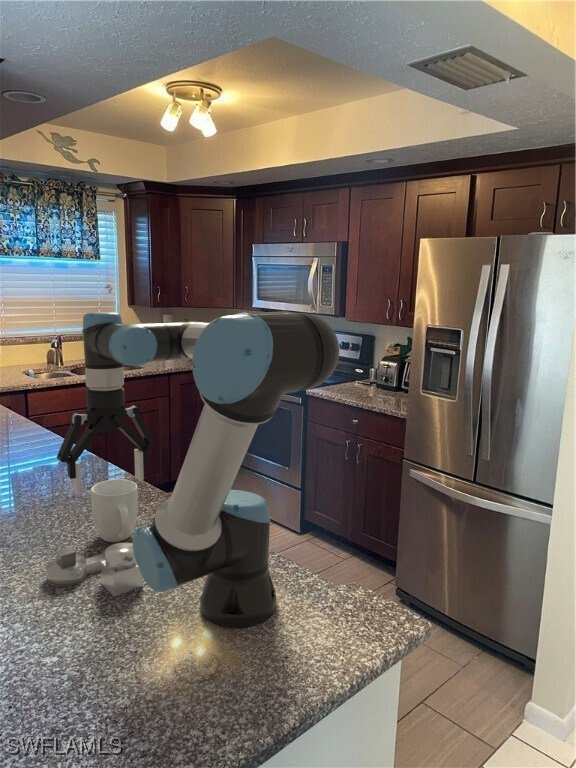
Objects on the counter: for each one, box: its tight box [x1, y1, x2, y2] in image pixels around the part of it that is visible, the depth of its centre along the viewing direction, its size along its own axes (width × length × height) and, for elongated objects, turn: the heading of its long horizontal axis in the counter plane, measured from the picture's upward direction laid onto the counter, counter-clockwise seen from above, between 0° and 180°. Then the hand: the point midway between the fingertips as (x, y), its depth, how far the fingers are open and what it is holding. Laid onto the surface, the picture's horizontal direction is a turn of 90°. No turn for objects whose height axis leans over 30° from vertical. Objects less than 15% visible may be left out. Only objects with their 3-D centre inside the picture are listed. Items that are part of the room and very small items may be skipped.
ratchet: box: [45, 542, 133, 588], centre depth 124 cm, size 8×22×6 cm, turn 130°
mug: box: [90, 478, 139, 543], centre depth 137 cm, size 15×11×13 cm
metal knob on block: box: [100, 542, 144, 598], centre depth 117 cm, size 6×6×8 cm
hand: (109, 485), depth 119 cm, fingers open, 13 cm apart
